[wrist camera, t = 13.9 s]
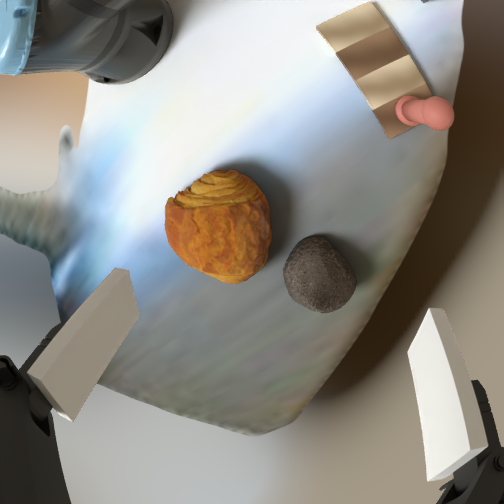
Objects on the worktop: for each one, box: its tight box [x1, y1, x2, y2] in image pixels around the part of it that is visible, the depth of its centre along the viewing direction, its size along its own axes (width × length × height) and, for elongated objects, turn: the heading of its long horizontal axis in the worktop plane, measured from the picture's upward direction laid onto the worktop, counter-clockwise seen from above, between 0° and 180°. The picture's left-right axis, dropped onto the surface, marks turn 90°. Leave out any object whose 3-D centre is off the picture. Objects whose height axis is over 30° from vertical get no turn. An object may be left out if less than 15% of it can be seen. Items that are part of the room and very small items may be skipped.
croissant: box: [165, 170, 272, 284], centre depth 39 cm, size 14×16×8 cm
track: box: [316, 1, 433, 139], centre depth 28 cm, size 16×8×1 cm, turn 35°
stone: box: [283, 236, 357, 313], centre depth 40 cm, size 10×8×10 cm
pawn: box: [395, 96, 454, 130], centre depth 24 cm, size 4×4×11 cm
